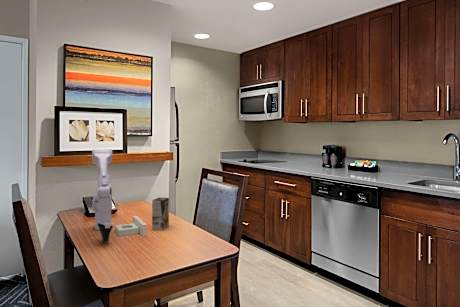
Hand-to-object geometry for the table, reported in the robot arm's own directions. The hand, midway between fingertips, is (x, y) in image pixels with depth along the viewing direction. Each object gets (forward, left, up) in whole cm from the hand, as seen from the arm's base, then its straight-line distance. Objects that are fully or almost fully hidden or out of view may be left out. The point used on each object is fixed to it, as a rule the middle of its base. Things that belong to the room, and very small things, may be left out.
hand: (105, 239), depth 156 cm
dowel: (0, 0, -1) cm, 1 cm away
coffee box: (-11, +31, -2) cm, 33 cm away
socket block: (-11, +13, -1) cm, 17 cm away
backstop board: (-10, +19, -1) cm, 22 cm away
